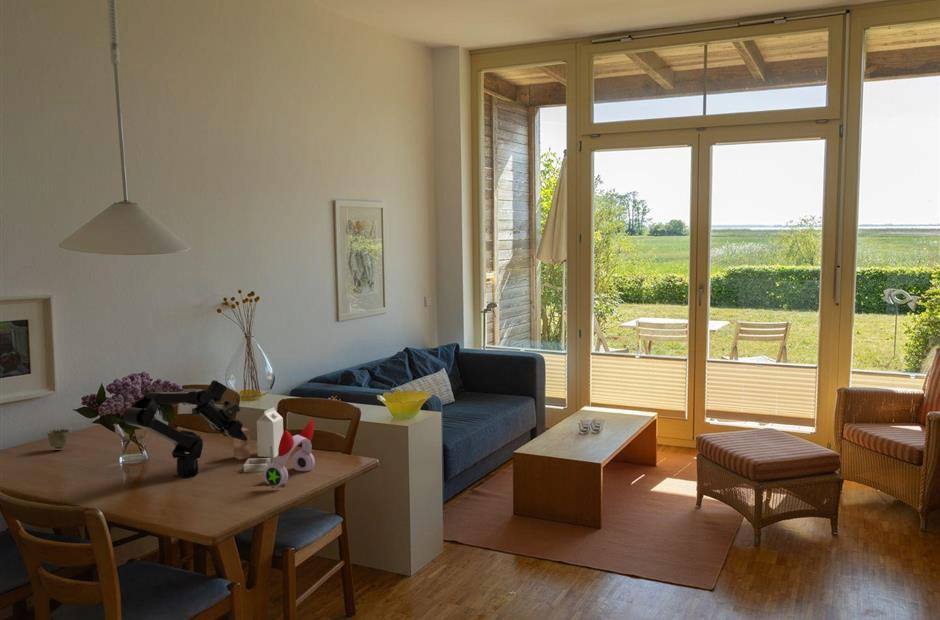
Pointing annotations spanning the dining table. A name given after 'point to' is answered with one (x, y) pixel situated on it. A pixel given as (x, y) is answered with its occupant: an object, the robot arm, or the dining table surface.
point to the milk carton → (269, 432)
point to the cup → (58, 438)
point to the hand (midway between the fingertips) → (241, 437)
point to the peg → (242, 446)
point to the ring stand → (257, 464)
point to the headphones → (300, 460)
